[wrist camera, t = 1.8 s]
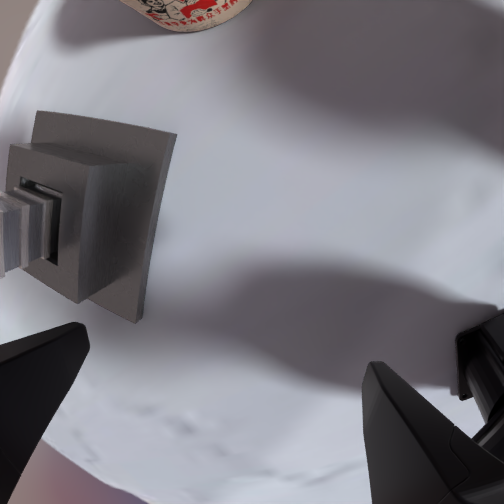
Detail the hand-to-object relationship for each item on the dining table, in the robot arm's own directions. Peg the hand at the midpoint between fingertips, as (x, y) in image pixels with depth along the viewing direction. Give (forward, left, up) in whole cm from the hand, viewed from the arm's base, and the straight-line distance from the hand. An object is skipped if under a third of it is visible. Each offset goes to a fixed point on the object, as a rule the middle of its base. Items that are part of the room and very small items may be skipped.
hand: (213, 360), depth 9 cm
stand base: (+8, +13, -11) cm, 19 cm away
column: (+8, +13, -10) cm, 19 cm away
